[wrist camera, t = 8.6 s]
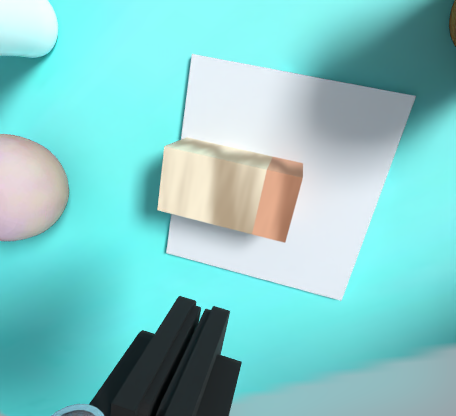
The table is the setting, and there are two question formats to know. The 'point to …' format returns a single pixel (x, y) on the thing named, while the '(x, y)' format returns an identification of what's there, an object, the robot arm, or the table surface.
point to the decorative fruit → (29, 188)
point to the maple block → (230, 187)
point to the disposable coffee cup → (453, 23)
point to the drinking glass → (27, 28)
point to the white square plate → (299, 152)
